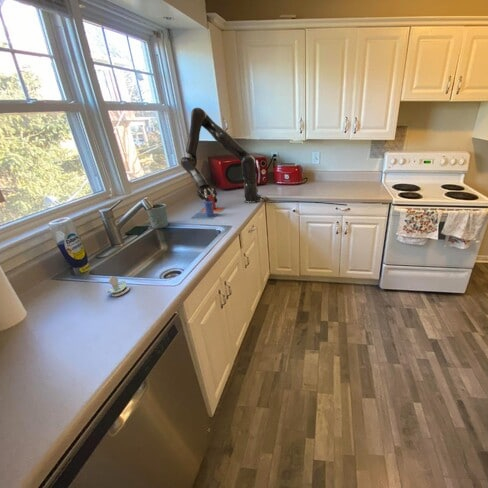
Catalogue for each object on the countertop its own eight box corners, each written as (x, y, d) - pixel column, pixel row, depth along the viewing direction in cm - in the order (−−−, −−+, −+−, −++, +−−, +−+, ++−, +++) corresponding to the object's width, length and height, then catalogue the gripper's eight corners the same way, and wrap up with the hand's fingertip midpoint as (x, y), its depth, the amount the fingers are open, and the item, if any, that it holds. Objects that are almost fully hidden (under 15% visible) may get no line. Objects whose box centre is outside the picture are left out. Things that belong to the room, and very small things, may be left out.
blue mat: (217, 213, 184) (217, 213, 184) (212, 219, 175) (211, 218, 174) (198, 213, 184) (198, 212, 184) (191, 218, 175) (191, 217, 175)
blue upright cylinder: (215, 214, 181) (213, 201, 177) (212, 217, 177) (210, 203, 173) (208, 214, 181) (206, 201, 178) (205, 216, 177) (203, 203, 173)
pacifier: (134, 288, 105) (121, 285, 106) (130, 274, 102) (117, 271, 104) (117, 299, 98) (103, 296, 100) (112, 284, 96) (98, 281, 97)
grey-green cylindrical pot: (150, 229, 157) (145, 209, 152) (150, 224, 165) (145, 204, 160) (170, 227, 161) (166, 207, 156) (169, 221, 170) (165, 202, 164)
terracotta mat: (224, 208, 195) (224, 207, 195) (219, 212, 187) (219, 211, 187) (206, 207, 196) (206, 207, 196) (200, 211, 188) (200, 211, 187)
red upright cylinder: (216, 208, 193) (215, 195, 189) (214, 210, 189) (212, 197, 185) (210, 208, 193) (208, 195, 190) (207, 210, 189) (206, 197, 185)
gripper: (192, 180, 182) (205, 201, 180) (211, 177, 192) (224, 197, 190) (189, 187, 187) (202, 208, 185) (208, 183, 197) (220, 203, 196)
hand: (213, 202), depth 188 cm, fingers closed on red upright cylinder, 4 cm apart
